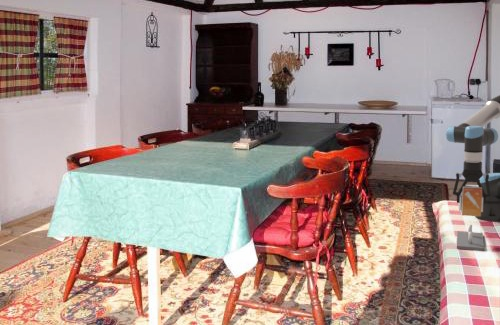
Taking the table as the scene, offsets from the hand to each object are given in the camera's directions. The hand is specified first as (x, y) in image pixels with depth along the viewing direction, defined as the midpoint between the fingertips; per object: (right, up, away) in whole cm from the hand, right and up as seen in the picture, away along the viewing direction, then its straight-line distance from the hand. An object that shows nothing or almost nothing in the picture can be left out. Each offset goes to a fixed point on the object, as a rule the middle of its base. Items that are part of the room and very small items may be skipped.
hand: (470, 210), depth 248 cm
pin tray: (+1, -14, +3) cm, 15 cm away
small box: (0, -2, 0) cm, 2 cm away
